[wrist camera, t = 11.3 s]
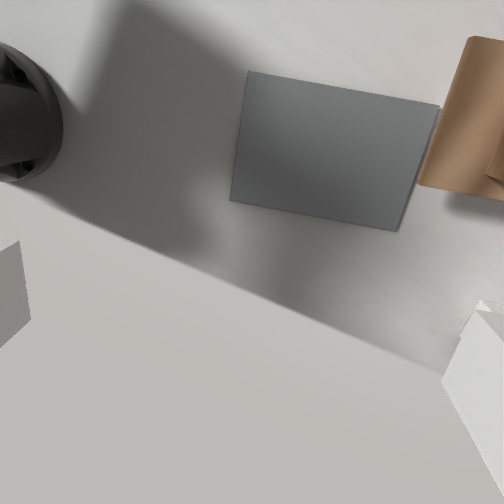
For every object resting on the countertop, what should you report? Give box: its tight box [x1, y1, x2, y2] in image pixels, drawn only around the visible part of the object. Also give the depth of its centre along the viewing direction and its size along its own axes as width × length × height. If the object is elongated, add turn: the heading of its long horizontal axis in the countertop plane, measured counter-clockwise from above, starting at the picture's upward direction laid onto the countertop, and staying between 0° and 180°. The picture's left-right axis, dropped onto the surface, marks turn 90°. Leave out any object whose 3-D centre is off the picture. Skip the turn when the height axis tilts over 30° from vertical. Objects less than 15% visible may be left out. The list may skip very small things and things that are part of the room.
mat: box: [230, 71, 440, 232], centre depth 40 cm, size 20×14×1 cm
